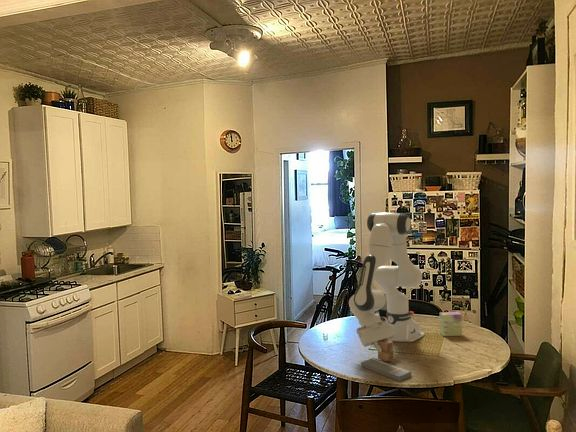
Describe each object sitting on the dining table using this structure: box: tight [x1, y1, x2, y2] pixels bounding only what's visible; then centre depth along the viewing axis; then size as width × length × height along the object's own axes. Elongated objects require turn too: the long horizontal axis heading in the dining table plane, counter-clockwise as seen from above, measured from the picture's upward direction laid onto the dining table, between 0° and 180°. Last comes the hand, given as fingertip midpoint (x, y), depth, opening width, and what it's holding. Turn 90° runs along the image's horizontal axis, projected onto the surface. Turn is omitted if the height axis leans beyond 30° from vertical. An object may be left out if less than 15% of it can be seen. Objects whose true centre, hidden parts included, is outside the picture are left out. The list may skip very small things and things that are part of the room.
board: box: [360, 357, 412, 382], centre depth 204 cm, size 8×22×2 cm, turn 36°
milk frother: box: [375, 295, 387, 318], centre depth 285 cm, size 14×16×15 cm
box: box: [438, 311, 463, 337], centre depth 252 cm, size 10×6×12 cm, turn 92°
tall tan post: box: [377, 339, 394, 362], centre depth 216 cm, size 5×5×8 cm
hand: (386, 349), depth 215 cm, fingers closed on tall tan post, 5 cm apart
